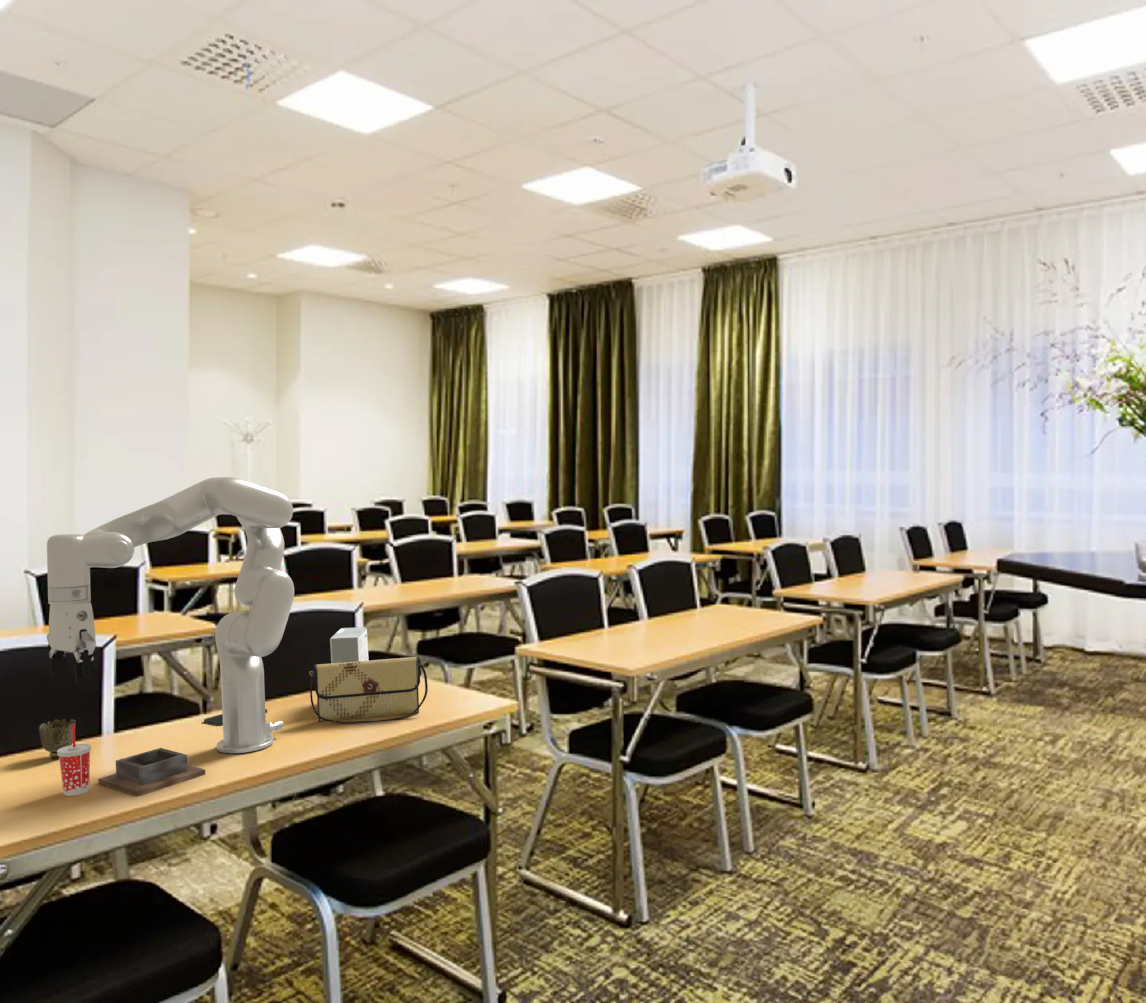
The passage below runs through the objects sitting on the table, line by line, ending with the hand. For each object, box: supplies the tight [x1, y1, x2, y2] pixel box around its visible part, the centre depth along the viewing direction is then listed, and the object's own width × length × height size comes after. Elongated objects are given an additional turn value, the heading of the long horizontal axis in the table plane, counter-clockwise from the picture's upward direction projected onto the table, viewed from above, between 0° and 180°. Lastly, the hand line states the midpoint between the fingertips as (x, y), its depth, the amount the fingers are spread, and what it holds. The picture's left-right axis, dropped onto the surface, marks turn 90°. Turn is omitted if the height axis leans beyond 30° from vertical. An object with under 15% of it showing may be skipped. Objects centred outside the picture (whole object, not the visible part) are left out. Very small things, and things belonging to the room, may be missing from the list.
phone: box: [203, 708, 268, 727], centre depth 237 cm, size 8×1×15 cm
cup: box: [38, 718, 76, 760], centre depth 207 cm, size 8×7×8 cm
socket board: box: [97, 747, 206, 797], centre depth 189 cm, size 15×15×4 cm
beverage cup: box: [57, 723, 92, 797], centre depth 182 cm, size 6×6×14 cm
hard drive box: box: [329, 626, 370, 664], centre depth 248 cm, size 16×8×20 cm, turn 3°
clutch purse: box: [308, 656, 429, 724], centre depth 231 cm, size 30×7×15 cm, turn 104°
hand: (71, 679), depth 182 cm, fingers open, 9 cm apart
